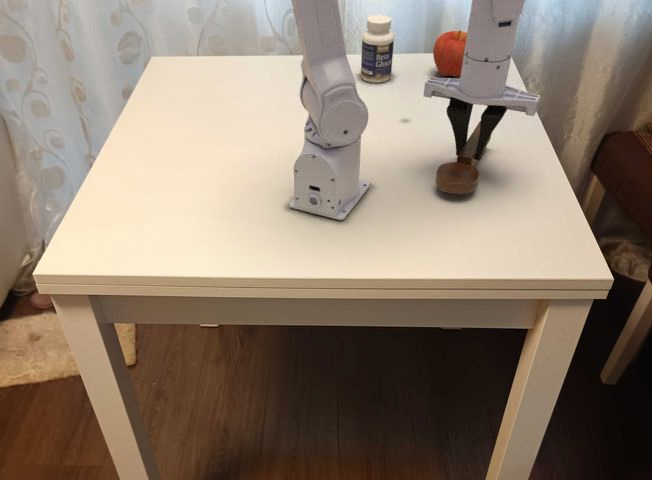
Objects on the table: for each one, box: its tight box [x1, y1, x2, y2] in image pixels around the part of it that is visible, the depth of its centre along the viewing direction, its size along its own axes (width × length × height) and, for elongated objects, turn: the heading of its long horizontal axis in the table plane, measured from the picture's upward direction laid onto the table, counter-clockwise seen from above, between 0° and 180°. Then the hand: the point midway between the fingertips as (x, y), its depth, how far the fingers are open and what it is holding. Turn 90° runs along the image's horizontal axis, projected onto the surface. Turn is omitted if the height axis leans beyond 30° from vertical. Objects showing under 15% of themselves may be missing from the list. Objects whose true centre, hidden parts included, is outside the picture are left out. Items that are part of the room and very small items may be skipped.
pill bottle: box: [360, 14, 395, 84], centre depth 110 cm, size 5×5×10 cm
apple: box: [432, 30, 467, 78], centre depth 110 cm, size 7×7×8 cm
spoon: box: [434, 120, 492, 195], centre depth 88 cm, size 16×6×3 cm, turn 153°
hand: (469, 154), depth 88 cm, fingers closed on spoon, 2 cm apart
